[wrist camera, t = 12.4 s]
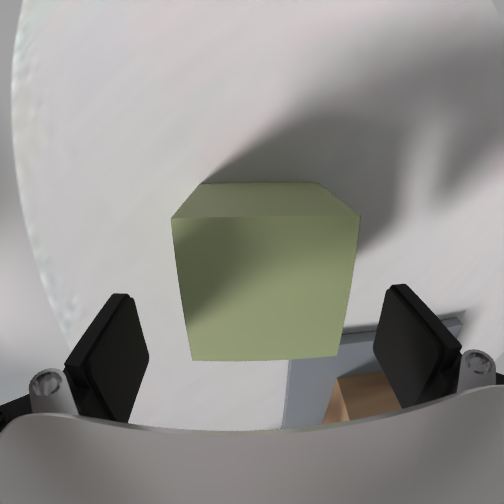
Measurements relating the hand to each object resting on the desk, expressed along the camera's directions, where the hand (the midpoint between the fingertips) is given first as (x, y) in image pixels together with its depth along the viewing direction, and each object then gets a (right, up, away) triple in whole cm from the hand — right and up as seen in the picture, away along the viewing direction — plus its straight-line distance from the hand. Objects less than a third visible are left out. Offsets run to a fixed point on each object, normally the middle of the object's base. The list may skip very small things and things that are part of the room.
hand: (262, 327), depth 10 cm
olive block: (0, +3, +5) cm, 6 cm away
